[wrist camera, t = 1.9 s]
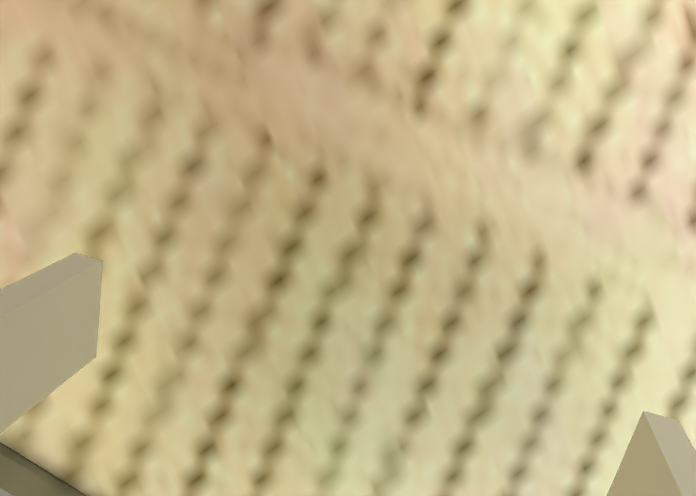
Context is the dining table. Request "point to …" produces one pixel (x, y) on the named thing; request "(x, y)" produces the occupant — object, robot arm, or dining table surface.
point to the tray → (28, 478)
